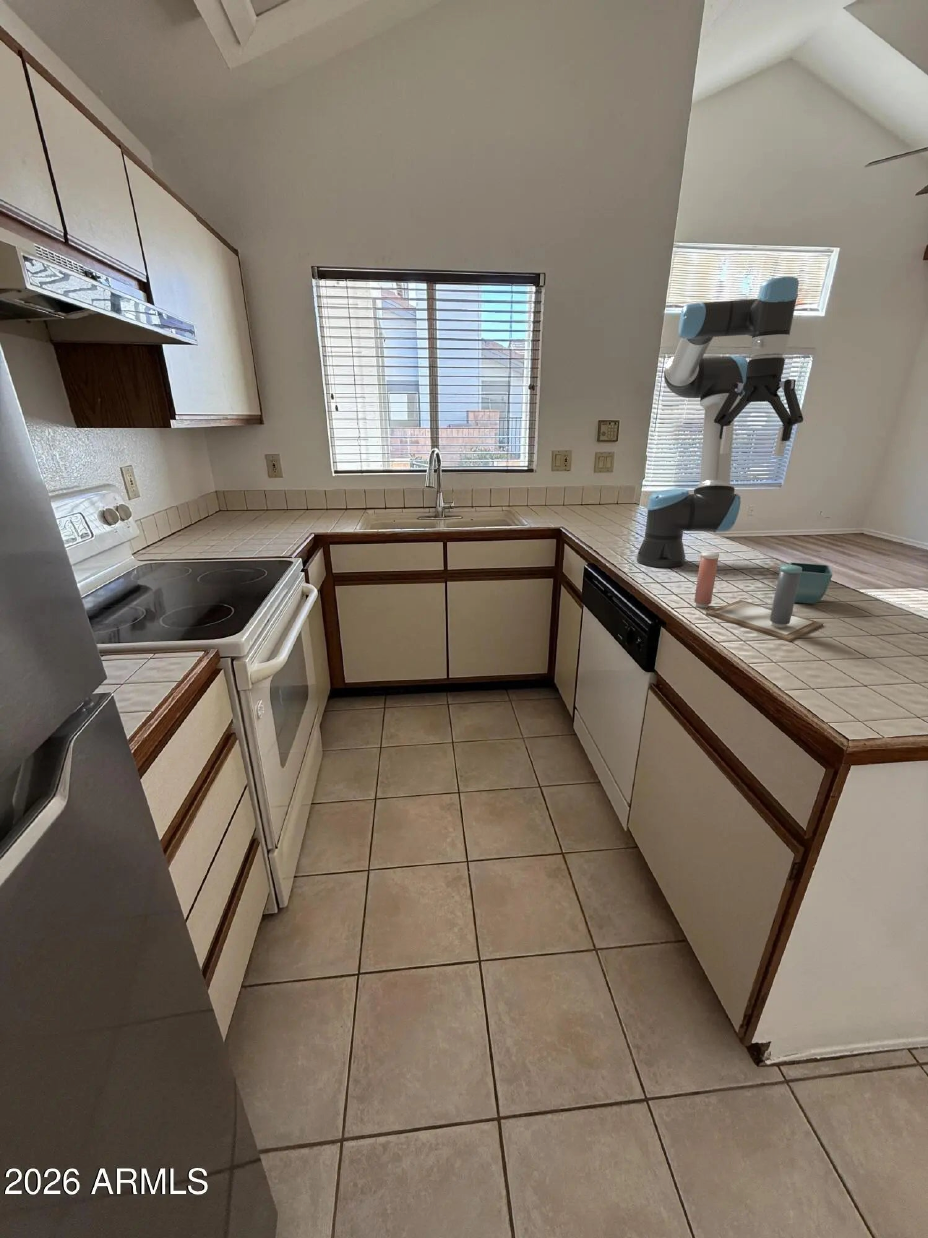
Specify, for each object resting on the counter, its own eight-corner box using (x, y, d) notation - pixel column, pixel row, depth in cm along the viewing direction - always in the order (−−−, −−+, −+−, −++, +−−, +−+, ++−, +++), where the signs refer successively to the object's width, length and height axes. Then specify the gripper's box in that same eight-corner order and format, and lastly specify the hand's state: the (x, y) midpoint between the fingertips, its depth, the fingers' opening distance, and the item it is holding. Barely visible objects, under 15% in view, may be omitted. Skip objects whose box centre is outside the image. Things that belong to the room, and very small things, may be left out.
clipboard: (705, 614, 128) (706, 609, 127) (740, 601, 135) (741, 596, 134) (788, 641, 112) (790, 635, 111) (822, 625, 119) (824, 620, 119)
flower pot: (784, 603, 133) (791, 570, 129) (782, 593, 140) (789, 561, 137) (824, 608, 129) (833, 574, 126) (820, 597, 136) (829, 565, 133)
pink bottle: (690, 605, 134) (697, 553, 128) (699, 602, 136) (707, 550, 130) (704, 610, 130) (712, 556, 125) (714, 606, 132) (722, 553, 127)
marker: (764, 624, 119) (776, 566, 114) (776, 621, 120) (788, 563, 115) (781, 630, 115) (794, 570, 110) (793, 627, 117) (806, 568, 112)
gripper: (707, 362, 126) (695, 453, 134) (817, 351, 106) (795, 458, 114) (725, 362, 129) (712, 451, 137) (834, 352, 110) (812, 456, 118)
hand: (750, 454), depth 126 cm, fingers open, 13 cm apart
